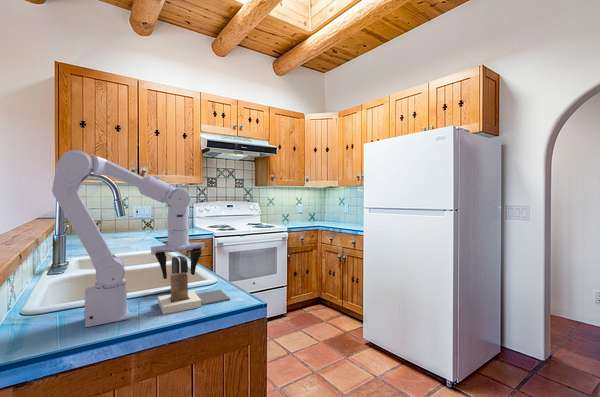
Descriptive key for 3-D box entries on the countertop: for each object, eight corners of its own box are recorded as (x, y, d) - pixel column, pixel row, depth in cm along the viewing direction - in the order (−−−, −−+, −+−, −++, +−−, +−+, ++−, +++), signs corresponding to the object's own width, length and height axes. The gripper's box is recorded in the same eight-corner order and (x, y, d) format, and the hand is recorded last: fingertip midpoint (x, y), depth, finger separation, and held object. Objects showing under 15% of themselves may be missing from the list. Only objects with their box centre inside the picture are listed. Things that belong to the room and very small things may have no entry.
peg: (173, 308, 87) (172, 277, 87) (170, 304, 91) (170, 274, 90) (187, 305, 89) (187, 275, 89) (185, 301, 93) (184, 272, 93)
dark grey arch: (189, 291, 103) (188, 257, 102) (177, 293, 100) (177, 258, 100) (182, 286, 108) (182, 254, 108) (171, 288, 106) (171, 255, 106)
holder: (163, 314, 83) (162, 307, 83) (158, 303, 92) (158, 296, 92) (201, 306, 88) (201, 300, 88) (193, 296, 97) (193, 290, 97)
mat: (203, 305, 90) (203, 303, 90) (195, 295, 98) (195, 294, 98) (230, 299, 94) (230, 298, 94) (220, 291, 102) (220, 289, 102)
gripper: (152, 233, 82) (153, 283, 83) (206, 229, 90) (207, 275, 90) (149, 230, 88) (150, 277, 89) (200, 227, 96) (201, 270, 96)
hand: (179, 276), depth 90 cm, fingers open, 7 cm apart
